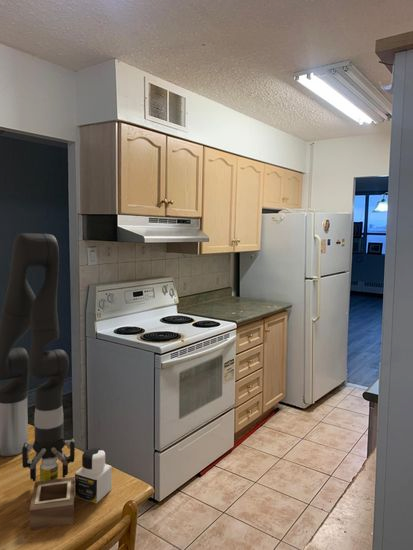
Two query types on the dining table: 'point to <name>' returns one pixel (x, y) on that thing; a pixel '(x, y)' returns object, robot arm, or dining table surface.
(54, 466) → the supplement bottle
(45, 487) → the socket block
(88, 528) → the dining table surface
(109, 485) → the medicine bottle
